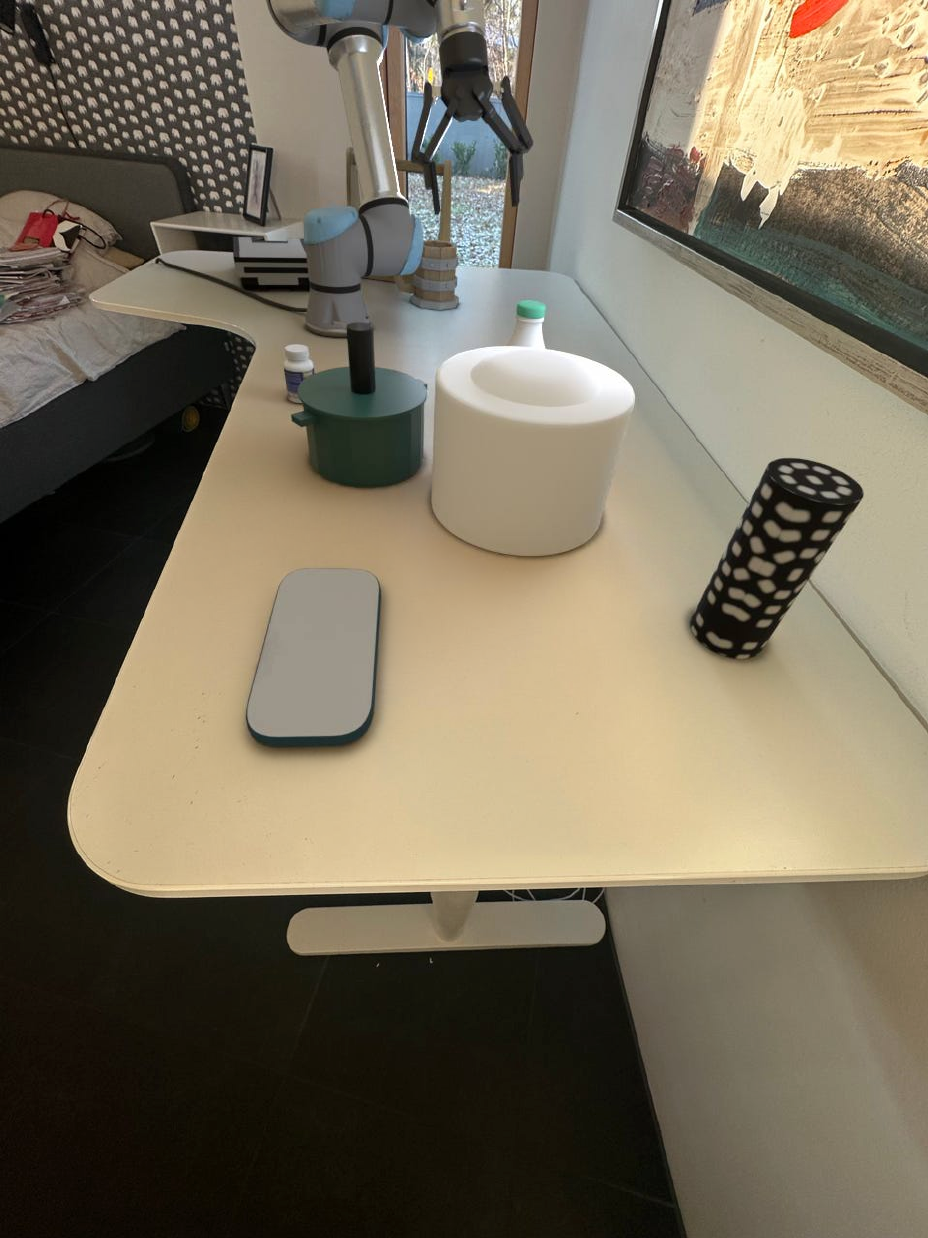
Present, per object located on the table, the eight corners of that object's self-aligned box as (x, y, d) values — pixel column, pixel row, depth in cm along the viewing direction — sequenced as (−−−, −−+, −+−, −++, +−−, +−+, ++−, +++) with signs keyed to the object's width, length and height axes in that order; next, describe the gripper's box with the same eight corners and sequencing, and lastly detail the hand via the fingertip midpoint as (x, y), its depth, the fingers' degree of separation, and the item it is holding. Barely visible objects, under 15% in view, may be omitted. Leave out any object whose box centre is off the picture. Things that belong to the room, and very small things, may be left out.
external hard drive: (372, 749, 49) (371, 737, 48) (240, 752, 48) (235, 739, 47) (382, 580, 66) (382, 568, 65) (285, 579, 65) (282, 566, 64)
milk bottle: (540, 421, 102) (560, 301, 88) (530, 438, 97) (550, 313, 83) (500, 413, 104) (514, 293, 90) (488, 429, 98) (501, 305, 84)
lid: (273, 390, 80) (261, 318, 73) (375, 364, 90) (372, 299, 83) (349, 437, 71) (343, 360, 64) (452, 403, 81) (456, 333, 74)
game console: (306, 264, 174) (303, 233, 169) (318, 292, 153) (315, 257, 147) (237, 263, 169) (232, 231, 163) (240, 292, 147) (233, 256, 142)
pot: (273, 458, 85) (260, 390, 78) (389, 420, 98) (387, 359, 91) (339, 507, 77) (332, 436, 70) (456, 459, 89) (461, 395, 82)
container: (437, 456, 89) (442, 322, 75) (588, 469, 90) (621, 337, 76) (424, 548, 71) (428, 394, 57) (613, 563, 72) (662, 413, 58)
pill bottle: (310, 405, 100) (304, 354, 94) (283, 401, 100) (275, 350, 94) (321, 395, 104) (316, 345, 98) (295, 390, 104) (288, 341, 98)
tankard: (461, 300, 157) (464, 237, 147) (452, 312, 148) (455, 246, 138) (393, 291, 159) (392, 229, 149) (381, 302, 150) (379, 237, 139)
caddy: (449, 281, 172) (454, 157, 151) (440, 289, 164) (445, 159, 144) (361, 268, 175) (355, 145, 155) (348, 276, 168) (340, 147, 147)
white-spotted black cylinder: (679, 608, 66) (751, 456, 53) (743, 607, 67) (830, 458, 53) (706, 659, 61) (795, 503, 47) (776, 658, 61) (884, 505, 48)
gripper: (382, 33, 80) (405, 209, 89) (547, 21, 82) (554, 193, 91) (381, 61, 87) (403, 221, 95) (534, 49, 89) (541, 207, 98)
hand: (476, 208), depth 93 cm, fingers open, 13 cm apart
